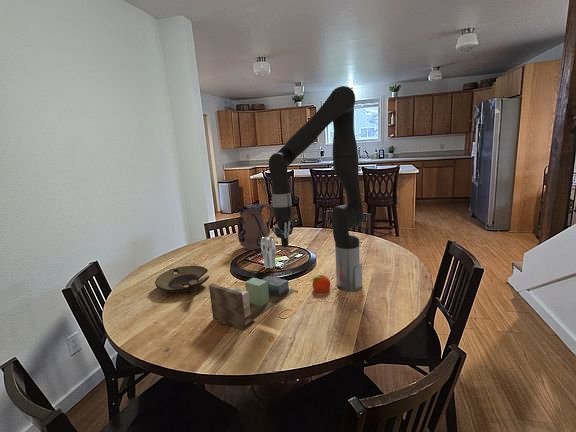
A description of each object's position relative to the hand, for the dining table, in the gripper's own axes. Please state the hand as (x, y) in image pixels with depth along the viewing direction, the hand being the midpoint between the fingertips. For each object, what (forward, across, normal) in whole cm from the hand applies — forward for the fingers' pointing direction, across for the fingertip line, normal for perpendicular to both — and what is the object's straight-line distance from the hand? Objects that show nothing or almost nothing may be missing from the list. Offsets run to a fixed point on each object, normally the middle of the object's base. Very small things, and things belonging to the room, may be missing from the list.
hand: (285, 246), depth 128 cm
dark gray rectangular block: (+16, -9, 0) cm, 18 cm away
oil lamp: (+17, -24, +38) cm, 48 cm away
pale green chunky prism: (+16, -18, 0) cm, 24 cm away
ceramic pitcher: (+17, +33, +47) cm, 60 cm away
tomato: (+17, +1, -15) cm, 23 cm away
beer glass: (+17, +11, +19) cm, 28 cm away
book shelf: (+17, -19, 0) cm, 25 cm away
